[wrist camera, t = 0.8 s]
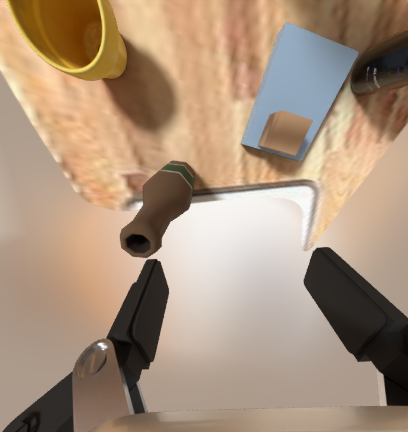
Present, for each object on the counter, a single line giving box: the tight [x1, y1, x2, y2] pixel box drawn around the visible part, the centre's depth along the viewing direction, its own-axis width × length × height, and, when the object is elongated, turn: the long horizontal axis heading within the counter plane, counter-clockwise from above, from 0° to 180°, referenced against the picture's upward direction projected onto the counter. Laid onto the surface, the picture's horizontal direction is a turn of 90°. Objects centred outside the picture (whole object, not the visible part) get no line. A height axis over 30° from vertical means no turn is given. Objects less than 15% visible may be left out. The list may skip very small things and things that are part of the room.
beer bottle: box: [120, 161, 195, 258], centre depth 24 cm, size 8×8×24 cm
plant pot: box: [6, 0, 127, 81], centre depth 20 cm, size 10×10×10 cm
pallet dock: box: [241, 22, 359, 161], centre depth 27 cm, size 16×12×3 cm
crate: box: [258, 110, 313, 156], centre depth 25 cm, size 5×5×5 cm
